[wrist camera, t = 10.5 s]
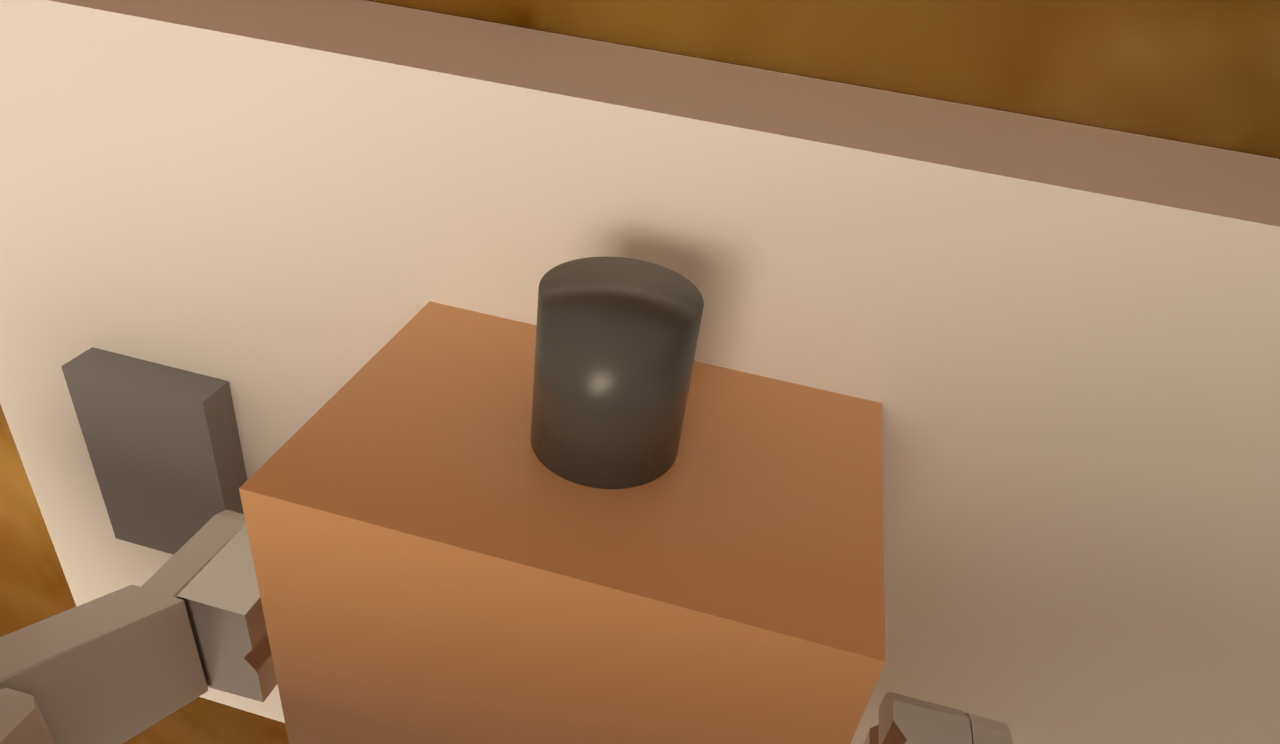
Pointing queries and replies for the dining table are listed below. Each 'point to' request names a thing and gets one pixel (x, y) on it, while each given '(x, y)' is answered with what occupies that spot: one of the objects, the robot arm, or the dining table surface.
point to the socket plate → (730, 325)
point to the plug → (573, 535)
